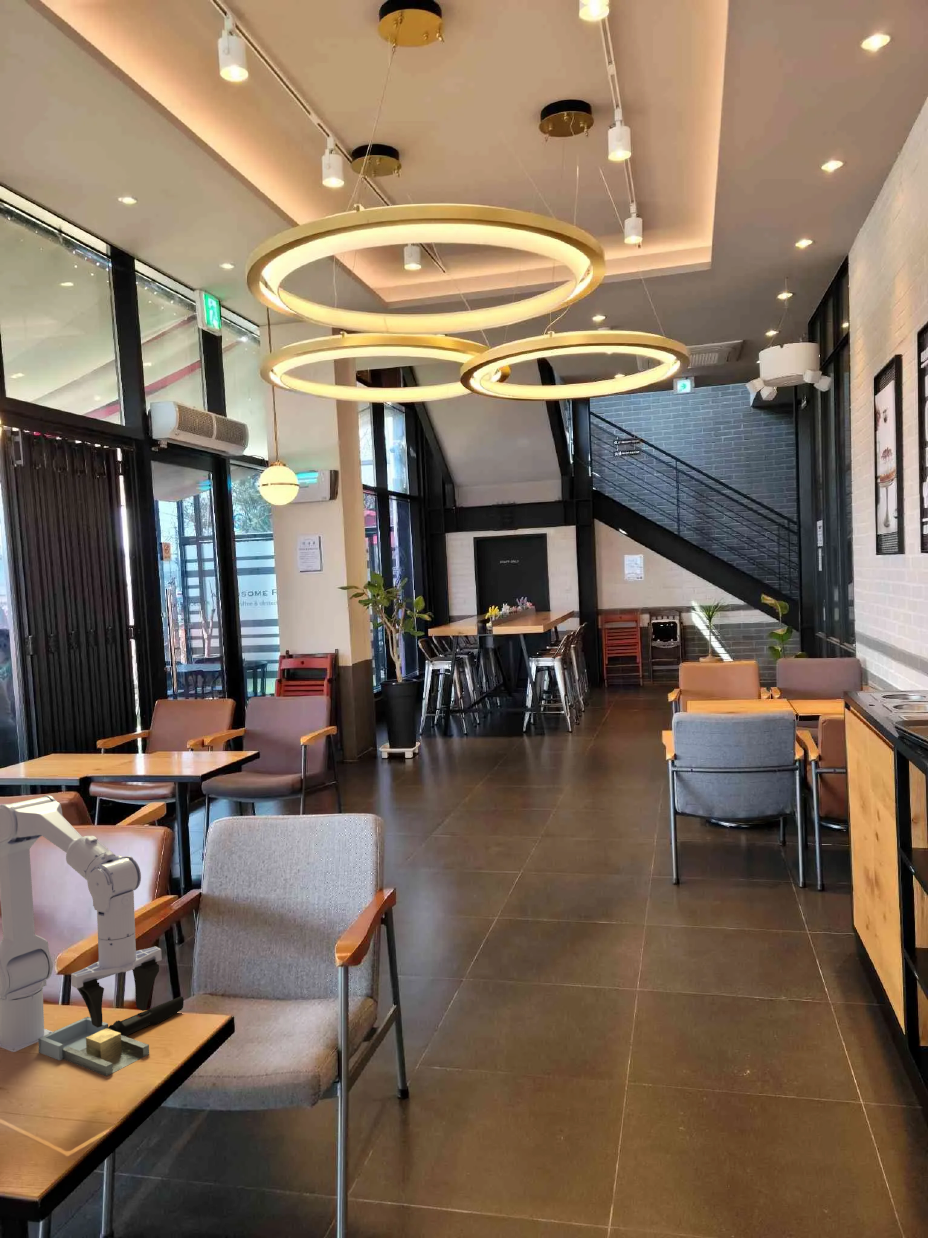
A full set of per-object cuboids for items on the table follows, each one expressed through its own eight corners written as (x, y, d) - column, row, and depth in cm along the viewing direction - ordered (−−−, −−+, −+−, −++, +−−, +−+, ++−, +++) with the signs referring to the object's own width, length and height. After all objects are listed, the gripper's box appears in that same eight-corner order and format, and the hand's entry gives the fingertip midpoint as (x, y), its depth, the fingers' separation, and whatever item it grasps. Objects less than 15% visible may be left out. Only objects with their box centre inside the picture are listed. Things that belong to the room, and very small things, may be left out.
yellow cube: (86, 1058, 153) (85, 1037, 153) (107, 1048, 156) (106, 1028, 156) (101, 1063, 151) (100, 1043, 151) (121, 1053, 154) (120, 1033, 154)
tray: (39, 1055, 156) (38, 1038, 156) (88, 1032, 164) (87, 1016, 164) (59, 1063, 152) (58, 1046, 152) (108, 1040, 160) (108, 1023, 160)
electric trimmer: (188, 1014, 170) (188, 997, 170) (114, 1046, 157) (113, 1028, 158) (176, 1010, 172) (176, 993, 172) (102, 1040, 160) (102, 1023, 160)
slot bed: (62, 1062, 153) (62, 1049, 153) (105, 1041, 160) (105, 1029, 160) (106, 1079, 146) (106, 1066, 146) (149, 1057, 153) (148, 1045, 153)
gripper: (84, 953, 138) (87, 1040, 139) (169, 926, 149) (172, 1008, 149) (64, 943, 143) (67, 1027, 143) (148, 918, 154) (151, 997, 154)
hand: (119, 1017), depth 147 cm, fingers open, 7 cm apart
